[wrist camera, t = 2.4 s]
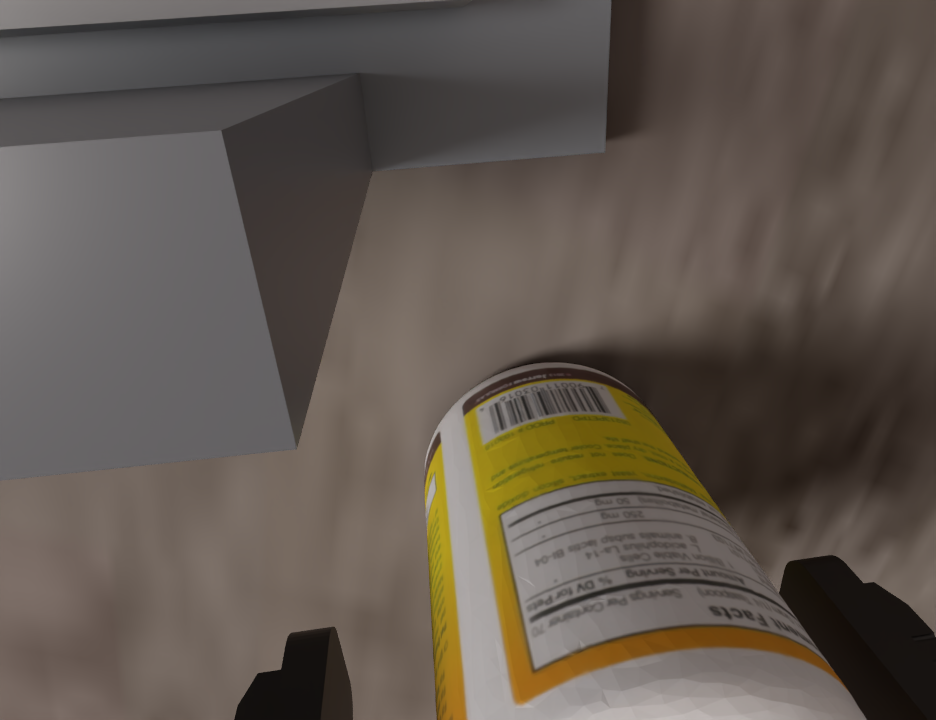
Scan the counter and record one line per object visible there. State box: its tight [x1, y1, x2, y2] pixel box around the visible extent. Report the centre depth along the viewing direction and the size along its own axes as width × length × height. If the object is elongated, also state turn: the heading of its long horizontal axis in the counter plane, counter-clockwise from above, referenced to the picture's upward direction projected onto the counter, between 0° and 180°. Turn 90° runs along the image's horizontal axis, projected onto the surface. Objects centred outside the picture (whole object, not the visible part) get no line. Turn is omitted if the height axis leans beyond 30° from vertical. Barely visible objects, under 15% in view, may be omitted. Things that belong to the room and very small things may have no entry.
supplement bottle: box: [424, 362, 867, 720], centre depth 10 cm, size 6×6×10 cm
